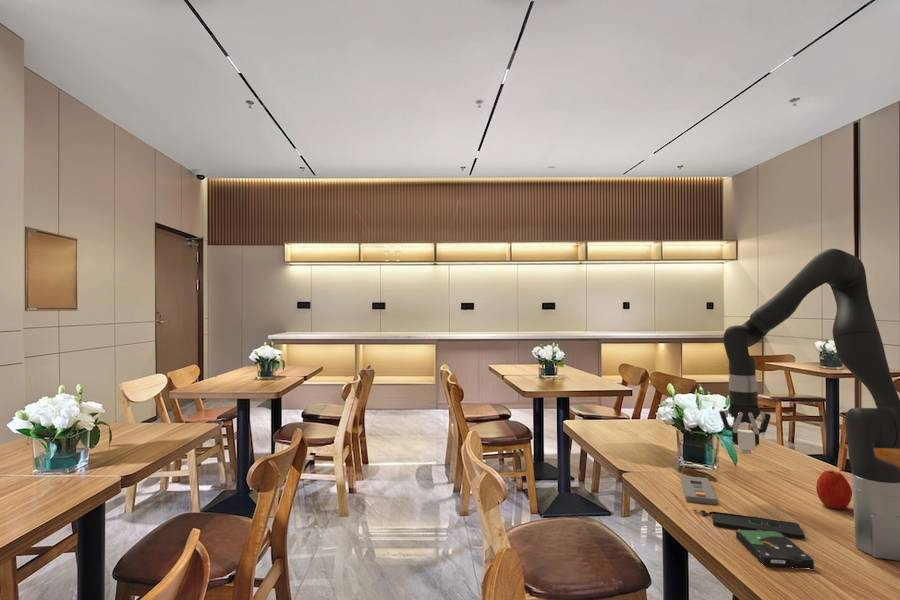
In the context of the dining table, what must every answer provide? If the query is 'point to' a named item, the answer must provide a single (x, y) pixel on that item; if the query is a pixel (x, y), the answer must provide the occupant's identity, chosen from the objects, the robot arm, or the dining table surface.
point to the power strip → (698, 490)
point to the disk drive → (774, 549)
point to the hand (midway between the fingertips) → (745, 444)
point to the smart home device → (757, 524)
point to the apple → (834, 490)
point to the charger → (746, 441)
